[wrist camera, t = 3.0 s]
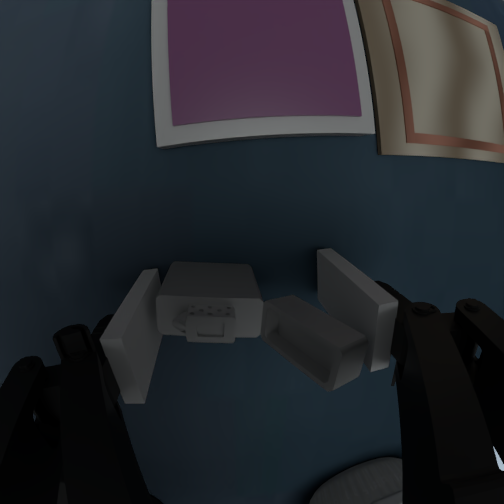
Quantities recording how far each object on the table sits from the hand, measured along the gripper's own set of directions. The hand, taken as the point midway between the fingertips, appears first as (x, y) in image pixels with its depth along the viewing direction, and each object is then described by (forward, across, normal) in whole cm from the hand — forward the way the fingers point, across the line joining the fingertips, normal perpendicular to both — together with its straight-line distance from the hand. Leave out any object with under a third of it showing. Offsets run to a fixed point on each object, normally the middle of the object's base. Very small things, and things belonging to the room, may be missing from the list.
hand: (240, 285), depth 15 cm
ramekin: (+1, -10, +26) cm, 28 cm away
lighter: (+1, 0, 0) cm, 1 cm away
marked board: (+1, -15, -12) cm, 19 cm away
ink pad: (+1, -2, -12) cm, 12 cm away
